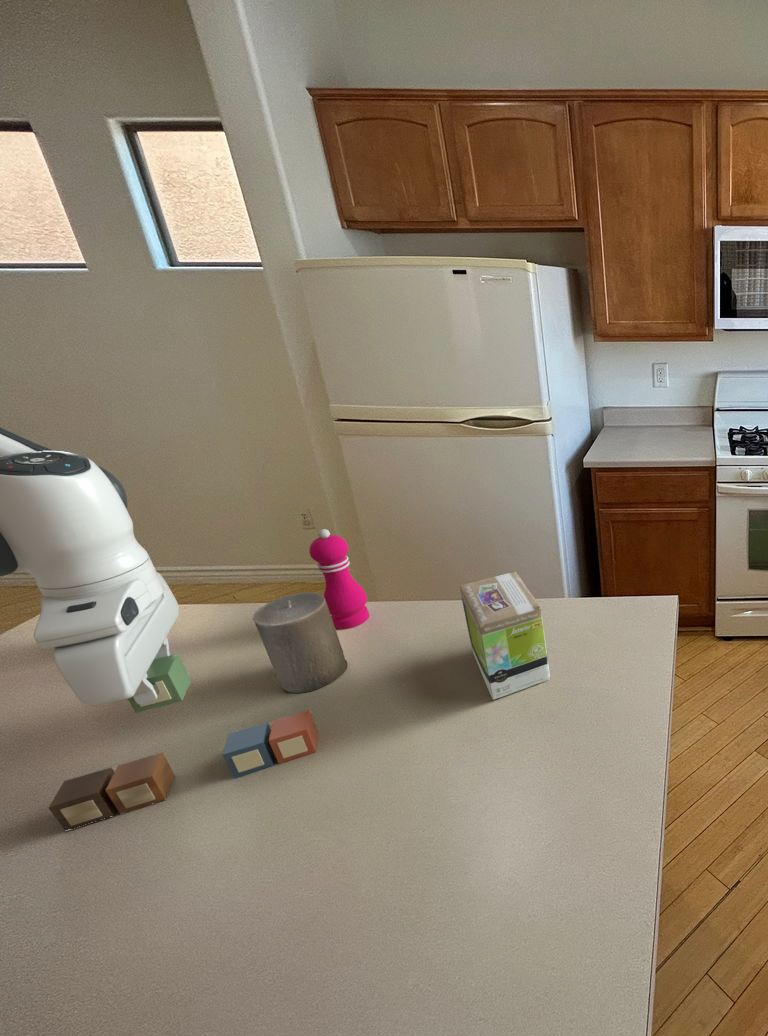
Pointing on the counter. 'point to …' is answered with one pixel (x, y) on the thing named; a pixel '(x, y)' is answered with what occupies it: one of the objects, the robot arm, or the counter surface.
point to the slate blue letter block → (249, 750)
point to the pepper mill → (339, 581)
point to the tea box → (505, 633)
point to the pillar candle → (301, 641)
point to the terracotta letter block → (293, 736)
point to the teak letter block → (140, 783)
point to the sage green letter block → (165, 682)
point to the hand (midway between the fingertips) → (157, 685)
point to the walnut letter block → (83, 800)
